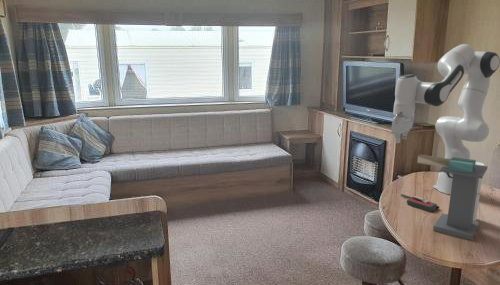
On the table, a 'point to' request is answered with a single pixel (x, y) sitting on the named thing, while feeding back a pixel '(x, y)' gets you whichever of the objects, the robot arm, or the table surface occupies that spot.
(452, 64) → the robot arm
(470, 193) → the stand
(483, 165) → the cylindrical container
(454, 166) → the tan and teal block
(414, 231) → the table surface
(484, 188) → the table surface
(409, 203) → the walkie-talkie
